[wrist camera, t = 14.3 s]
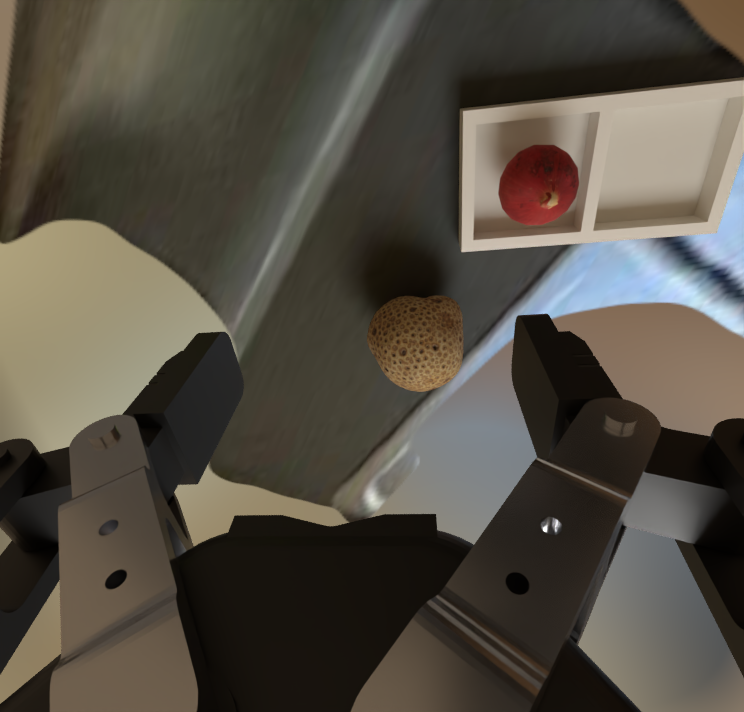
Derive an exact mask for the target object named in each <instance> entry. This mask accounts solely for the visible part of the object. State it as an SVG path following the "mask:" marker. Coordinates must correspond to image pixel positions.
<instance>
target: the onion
mask: <svg viewBox="0 0 744 712" xmlns="http://www.w3.org/2000/svg"><path fill="white" fill-rule="evenodd" d="M578 187H579V176H578V167H577V166H576V164H575V163H574V161H573V159H572V158H571V156H570V155H569V154H568V153H567V152H566V151H564V150H562V149H560V148H559V147H557V146H555V145H532V146H530V147H528V148H526V149H524V150H521V151H519V152H518V153H517V154H516V155H515V156H514V157H513V158H512V159H511V160H510V162H509V163H508V164H507V165H506V167H505V169H504V171H503V173H502V175H501V177H500V183H499V191H498V195H499V199H500V203H501V206H502V209H503V210H504V211H505V213H506V214H507V215H508V216H509V217H510V218H511V219H512V220H514V221H517V222H519V223H522V224H524V225H543V224H545V223H548V222H551V221H554V220H556V219H557V218H558V217H560V216H561V215H562V214H564V213H565V212H566V211H567V210H568V209H569V207H570V206H571V204H572V203H573V201H574V200H575V198H576V195H577V191H578Z"/></svg>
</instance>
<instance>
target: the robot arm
mask: <svg viewBox="0 0 744 712" xmlns="http://www.w3.org/2000/svg"><path fill="white" fill-rule="evenodd" d="M512 381H513V386H514V389H515V392H516V395H517V398H518V401H519V404H520V407H521V410H522V413H523V416H524V419H525V422H526V425H527V428H528V431H529V434H530V437H531V440H532V443H533V445H534V449H535V452H536V455H537V458H536V459H535V460H534V461H533V463H532V464H531V465H530V467H529V468H528V469H527V471H526V472H525V474H524V475H523V476H522V478H521V479H520V481H519V482H518V484H517V485H516V486H515V488H514V489H513V491H512V492H511V494H510V495H509V496H508V498H507V499H506V501H505V502H504V504H503V505H502V506H501V508H500V509H499V511H498V512H497V513H496V515H495V516H494V518H493V519H492V520H491V522H490V523H489V525H488V526H487V528H486V529H485V530H484V532H483V533H482V535H481V536H480V537H479V539H478V540H477V542H476V543H475V544H474V545H473V544H472V543H470V542H468V541H466V540H464V539H462V538H460V537H457V536H454V535H451V534H449V533H446V532H442V531H438V530H437V523H436V514H398V515H397V514H393V515H391V514H387V515H386V514H385V515H380V516H376V517H372V518H367V519H363V520H359V521H355V522H350V523H346V524H342V525H338V526H331V527H330V526H324V525H320V524H316V523H312V522H308V521H304V520H300V519H295V518H291V517H287V516H283V515H259V516H258V515H248V516H234V519H233V522H232V524H231V527H230V529H229V532H228V533H224V534H222V535H219V536H216V537H213V538H210V539H208V540H206V541H204V542H202V543H200V544H198V545H196V546H193V543H192V540H191V537H190V534H189V531H188V528H187V526H186V522H185V519H184V516H183V513H182V510H181V508H180V505H179V502H178V499H177V497H176V495H175V493H174V491H175V489H176V488H177V485H180V484H181V485H184V484H185V485H186V484H198V482H199V481H200V479H201V477H202V475H203V473H204V471H205V469H206V467H207V465H208V463H209V461H210V459H211V457H212V455H213V453H214V451H215V449H216V447H217V445H218V443H219V441H220V439H221V437H222V435H223V433H224V431H225V429H226V427H227V425H228V423H229V421H230V419H231V417H232V415H233V413H234V411H235V409H236V407H237V406H238V404H239V402H240V400H241V397H242V395H243V389H244V382H243V376H242V373H241V370H240V367H239V364H238V361H237V358H236V355H235V352H234V348H233V345H232V342H231V339H230V337H229V335H228V334H227V333H226V332H211V333H198V334H197V335H196V336H195V337H194V338H193V339H192V341H191V342H190V343H189V344H188V346H187V347H186V348H185V349H184V351H181V352H179V353H178V354H176V355H175V356H173V357H172V358H171V359H169V360H168V361H166V362H165V364H164V365H163V366H162V367H161V369H160V370H159V371H158V372H157V375H155V376H154V377H153V378H152V379H151V381H150V382H149V385H146V387H145V388H144V389H143V390H142V391H141V393H140V394H139V395H138V396H137V398H136V399H135V400H134V401H133V402H132V404H131V405H130V406H129V407H128V408H127V410H126V411H125V412H124V413H123V414H122V415H116V416H110V417H107V418H104V419H101V420H99V421H96V422H94V423H92V424H91V425H89V426H87V427H86V428H85V429H83V430H82V431H81V432H80V433H78V434H77V435H76V437H75V438H74V439H73V440H72V442H71V444H70V446H69V447H66V448H63V449H58V450H54V451H50V452H46V453H42V454H40V453H39V452H38V450H37V449H36V447H35V446H34V445H33V443H32V442H31V441H30V440H27V439H12V440H8V441H4V442H2V443H0V528H1V529H2V530H3V531H4V532H5V533H6V534H7V535H8V536H9V537H10V538H11V540H12V541H11V543H10V544H9V545H8V547H7V548H6V549H5V550H4V552H3V553H2V554H1V555H0V674H1V673H2V671H3V669H4V668H5V666H6V665H7V663H8V661H9V660H10V658H11V657H12V655H13V653H14V652H15V650H16V648H17V647H18V645H19V644H20V642H21V641H22V639H23V637H24V636H25V634H26V633H27V631H28V629H29V628H30V626H31V624H32V623H33V621H34V620H35V618H36V617H37V615H38V613H39V612H40V610H41V608H42V607H43V605H44V604H45V602H46V601H47V599H48V597H49V596H50V594H51V592H52V591H53V589H54V588H55V586H56V584H57V583H58V581H59V580H60V614H61V648H62V649H61V654H60V655H59V656H58V657H56V658H55V659H54V660H53V661H52V662H50V663H49V664H48V665H47V666H46V667H44V668H43V669H42V670H41V671H40V672H38V673H37V674H36V675H35V676H34V677H32V678H31V679H30V680H29V681H28V682H26V683H25V684H24V685H23V686H22V687H20V688H19V689H18V690H17V691H16V692H14V693H13V694H12V695H11V696H9V697H8V698H7V699H6V700H5V701H3V702H2V703H1V704H0V712H641V711H640V710H639V709H638V708H637V707H636V706H635V705H634V703H633V702H632V701H631V700H630V699H629V698H628V697H627V696H626V695H625V694H624V693H623V692H622V691H621V690H620V689H619V688H618V687H617V686H616V685H615V684H614V683H613V682H612V681H611V680H610V679H609V677H608V676H607V675H606V674H605V673H604V672H603V671H602V670H601V669H600V668H599V667H598V666H597V665H596V664H595V663H594V662H593V661H592V660H591V659H590V658H589V657H588V656H587V655H586V654H585V653H584V652H583V650H582V649H581V648H580V647H579V646H578V643H579V641H580V639H581V637H582V634H583V632H584V629H585V627H586V624H587V622H588V619H589V617H590V614H591V612H592V609H593V607H594V604H595V601H596V599H597V596H598V594H599V591H600V589H601V587H602V584H603V582H604V580H605V577H606V575H607V573H608V571H609V568H610V566H611V564H612V561H613V559H614V557H615V554H616V552H617V550H618V547H619V545H620V543H621V540H622V538H623V536H624V533H625V531H626V529H627V527H631V528H634V529H638V530H642V531H646V532H650V533H654V534H658V535H661V536H665V537H670V538H673V539H675V541H676V542H677V545H678V546H679V548H680V551H681V553H682V555H683V557H684V559H685V560H686V563H687V564H688V567H689V569H690V571H691V572H692V574H693V577H694V579H695V581H696V582H697V585H698V587H699V589H700V590H701V593H702V594H703V597H704V599H705V601H706V603H707V605H708V607H709V609H710V611H711V613H712V614H713V617H714V618H715V621H716V623H717V624H718V627H719V628H720V631H721V633H722V635H723V637H724V639H725V641H726V642H727V645H728V647H729V649H730V651H731V653H732V655H733V657H734V659H735V661H736V663H737V665H738V667H739V668H740V671H741V673H742V675H743V677H744V419H741V418H736V419H727V420H724V421H721V422H719V423H718V424H717V425H716V426H715V427H714V429H713V431H712V434H711V436H704V435H699V434H694V433H688V432H682V431H676V430H671V429H667V428H664V427H661V425H660V422H659V421H658V419H657V417H656V416H655V415H654V414H653V413H652V412H650V411H649V410H648V409H646V408H644V407H643V406H641V405H639V404H637V403H634V402H631V401H628V400H624V399H623V398H622V397H621V395H620V394H619V392H618V391H617V389H616V388H615V386H614V385H613V383H612V382H611V380H610V379H609V377H608V376H607V374H606V373H605V371H604V370H603V368H602V367H601V366H600V365H599V362H598V360H597V359H596V357H595V356H593V353H592V351H591V350H590V348H589V347H588V345H587V344H586V342H585V341H584V340H582V339H580V338H579V337H578V336H576V335H575V334H573V333H571V332H570V331H567V332H566V331H565V332H558V330H557V328H556V327H555V325H554V323H553V322H552V320H551V318H550V316H549V315H548V314H536V315H519V316H517V318H516V323H515V333H514V344H513V355H512Z"/></svg>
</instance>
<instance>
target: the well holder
mask: <svg viewBox="0 0 744 712" xmlns="http://www.w3.org/2000/svg"><path fill="white" fill-rule="evenodd" d="M532 145H555V146H557V147H559V148H560V149H562V150H564V151H566V152H567V153H568V154H569V155H570V156H571V158H572V159H573V161H574V163H575V164H576V166H577V167H578V176H579V187H578V191H577V195H576V198H575V200H574V201H573V203H572V204H571V206H570V207H569V209H568V210H567V211H566V212H565V213H564V214H562V215H561V216H560V217H558V218H557V219H556V220H554V221H551V222H548V223H545V224H543V225H524V224H522V223H519V222H517V221H514V220H512V219H511V218H510V217H509V216H508V215H507V214H506V213H505V211H504V210H503V209H502V206H501V203H500V199H499V195H498V191H499V183H500V177H501V175H502V173H503V171H504V169H505V167H506V165H507V164H508V163H509V162H510V160H511V159H512V158H513V157H514V156H515V155H516V154H517V153H518V152H519V151H521V150H524V149H526V148H528V147H530V146H532ZM743 152H744V77H740V78H731V79H722V80H713V81H704V82H695V83H686V84H677V85H668V86H659V87H650V88H641V89H632V90H623V91H614V92H605V93H596V94H587V95H578V96H569V97H560V98H551V99H542V100H533V101H524V102H515V103H506V104H497V105H488V106H479V107H470V108H461V109H460V122H459V245H460V248H461V252H469V251H482V250H496V249H509V248H523V247H536V246H550V245H563V244H577V243H590V242H604V241H617V240H631V239H644V238H657V237H671V236H684V235H698V234H711V233H717V230H718V227H719V224H720V221H721V218H722V215H723V212H724V209H725V206H726V203H727V200H728V197H729V194H730V191H731V188H732V185H733V182H734V179H735V176H736V173H737V170H738V167H739V164H740V161H741V158H742V155H743Z"/></svg>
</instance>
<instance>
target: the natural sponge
mask: <svg viewBox="0 0 744 712" xmlns="http://www.w3.org/2000/svg"><path fill="white" fill-rule="evenodd" d="M462 321H463V319H462V313H461V310H460V307H459V305H458V304H457V302H456V301H455V300H453V299H451V298H449V297H446V296H440V295H434V296H429V297H427V298H421V297H415V296H401V297H397V298H395V299H392V300H390V301H389V302H387V303H386V304H384V305H383V306H382V307H381V308H380V309H379V310H378V311H377V312H376V313H375V315H374V317H373V319H372V321H371V323H370V326H369V330H368V335H367V342H368V346H369V348H370V349H371V351H372V353H373V355H374V356H375V358H376V360H377V361H378V363H379V365H380V367H381V369H382V371H383V372H384V373H385V375H386V376H387V377H388V378H389V379H390V380H391V381H392V382H394V383H395V384H397V385H399V386H400V387H403V388H405V389H408V390H412V391H418V392H421V391H428V390H432V389H435V388H437V387H440V386H442V385H444V384H446V383H447V382H449V381H450V380H451V379H452V378H453V377H454V376H455V375H456V374H457V372H458V371H459V369H460V366H461V364H462V358H463V325H462Z"/></svg>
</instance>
